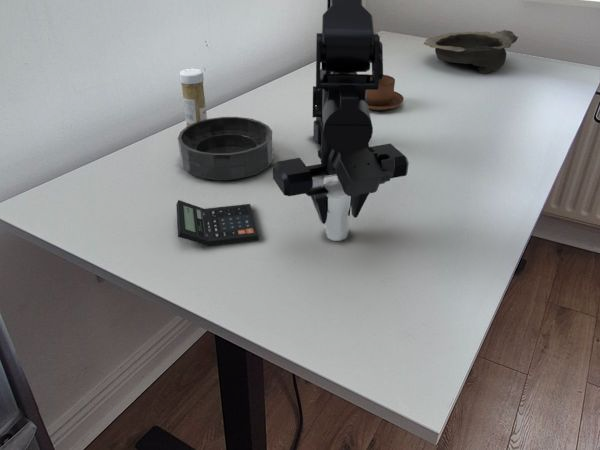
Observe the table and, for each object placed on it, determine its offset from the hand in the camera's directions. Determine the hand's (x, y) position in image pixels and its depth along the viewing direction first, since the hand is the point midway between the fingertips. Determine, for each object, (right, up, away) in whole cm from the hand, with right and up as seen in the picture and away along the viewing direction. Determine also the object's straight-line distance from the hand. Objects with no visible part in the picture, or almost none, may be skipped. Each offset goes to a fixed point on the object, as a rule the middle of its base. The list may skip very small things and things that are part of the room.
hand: (338, 219), depth 82 cm
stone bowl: (+41, +45, +74) cm, 95 cm away
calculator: (-19, -1, +3) cm, 19 cm away
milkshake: (0, -2, +2) cm, 3 cm away
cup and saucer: (+12, +27, +47) cm, 56 cm away
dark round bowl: (-19, +11, +22) cm, 32 cm away
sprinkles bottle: (-27, +18, +33) cm, 46 cm away
